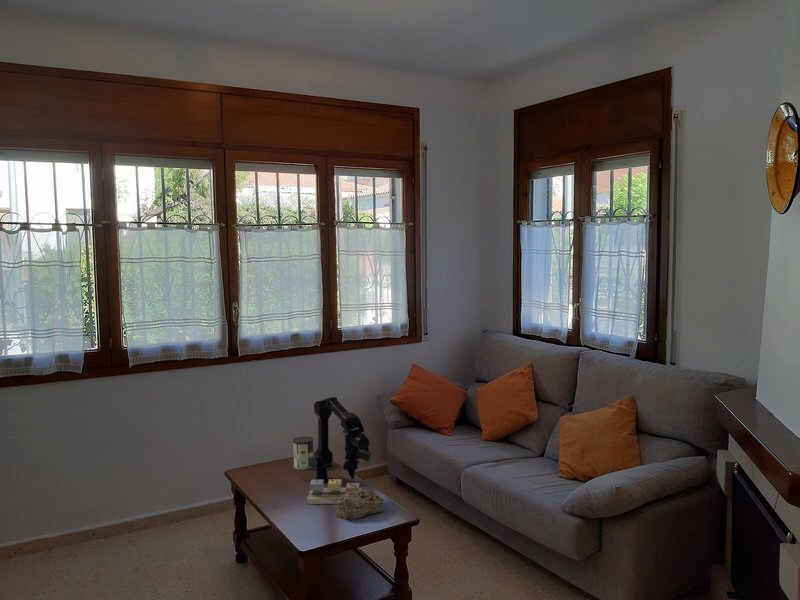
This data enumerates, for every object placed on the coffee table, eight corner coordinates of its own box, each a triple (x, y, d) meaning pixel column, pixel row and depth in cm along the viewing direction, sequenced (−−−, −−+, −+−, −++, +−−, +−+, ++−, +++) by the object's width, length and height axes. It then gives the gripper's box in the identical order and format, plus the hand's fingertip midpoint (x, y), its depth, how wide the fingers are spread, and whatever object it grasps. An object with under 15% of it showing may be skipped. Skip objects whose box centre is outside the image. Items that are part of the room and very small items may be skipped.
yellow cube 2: (329, 491, 293) (329, 479, 292) (341, 491, 293) (341, 478, 292) (328, 496, 287) (327, 483, 287) (340, 496, 287) (340, 483, 287)
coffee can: (309, 461, 341) (308, 435, 339) (317, 467, 332) (316, 440, 331) (290, 465, 335) (289, 438, 334) (298, 471, 326) (297, 443, 325)
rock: (369, 502, 287) (374, 482, 285) (386, 521, 276) (391, 500, 273) (328, 509, 275) (332, 488, 273) (344, 529, 264) (348, 507, 262)
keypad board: (311, 493, 296) (311, 488, 296) (361, 492, 296) (361, 487, 296) (307, 504, 285) (307, 498, 284) (359, 503, 284) (359, 497, 284)
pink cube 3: (347, 495, 293) (347, 482, 292) (359, 495, 293) (359, 482, 292) (346, 500, 287) (345, 487, 287) (358, 500, 287) (358, 487, 287)
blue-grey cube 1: (311, 492, 293) (311, 479, 293) (324, 491, 293) (323, 479, 292) (310, 496, 288) (309, 483, 287) (322, 496, 287) (322, 483, 287)
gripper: (368, 450, 278) (369, 486, 280) (371, 437, 297) (372, 471, 298) (342, 451, 279) (343, 486, 280) (346, 438, 297) (347, 471, 299)
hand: (352, 478), depth 289 cm, fingers closed
